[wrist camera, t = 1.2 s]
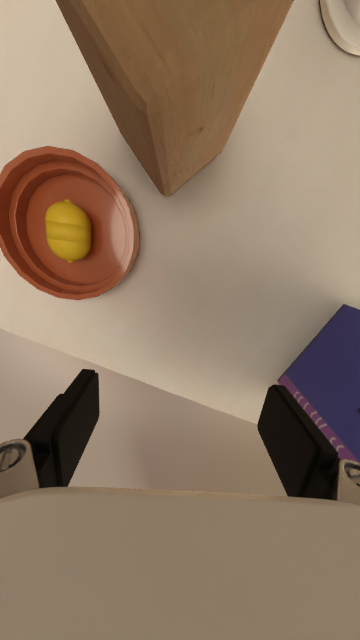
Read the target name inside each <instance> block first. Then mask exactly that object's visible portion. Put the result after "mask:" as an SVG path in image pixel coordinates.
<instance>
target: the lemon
mask: <svg viewBox="0 0 360 640" xmlns="http://www.w3.org/2000/svg"><path fill="white" fill-rule="evenodd" d="M45 225H46V238H47V243H48V245H49V247H50V249H51V250H52V251H53V252H54V254H56V255H57V256H58V257H60V258H62V259H65V260H67V261H68V262H69V263H73V262H74V261H77V260H80V259H82V258H84V257H85V256H86V255H87V254H88V253H89V251H90V248H91V224H90V220H89V218H88V216H87V214H86V213H85V212H84V211H83V210H82V209H81V208H80V207H79V206H77V205H76V204H73V203H72V202H71V200H69V199H65V200H64V201H60V202H56V203H54V204H52V205H51V206H50V207H49V208H48V210H47V212H46V215H45Z"/></svg>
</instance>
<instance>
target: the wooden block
mask: <svg viewBox="0 0 360 640" xmlns="http://www.w3.org/2000/svg"><path fill="white" fill-rule="evenodd" d="M293 1H294V0H56V2H57V4H58V6H59V8H60V10H61V12H62V14H63V16H64V18H65V20H66V22H67V24H68V26H69V28H70V30H71V32H72V35H73V37H74V39H75V41H76V43H77V45H78V47H79V49H80V51H81V53H82V55H83V57H84V59H85V61H86V63H87V65H88V67H89V69H90V71H91V73H92V75H93V77H94V79H95V81H96V83H97V86H98V88H99V90H100V92H101V94H102V96H103V98H104V100H105V102H106V104H107V106H108V108H109V110H110V112H111V114H112V116H113V118H114V120H115V122H116V124H117V126H118V128H119V130H120V132H121V134H122V135H123V137H124V138H125V140H126V141H127V143H128V144H129V146H130V147H131V149H132V151H133V152H134V154H135V155H136V157H137V158H138V160H139V161H140V163H141V164H142V166H143V167H144V169H145V170H146V172H147V173H148V175H149V176H150V178H151V179H152V181H153V182H154V184H155V185H156V187H157V188H158V190H159V191H160V193H162V194H163V195H164V196H168V195H171V194H172V193H173V192H174V191H176V190H177V189H178V188H179V187H180V186H182V185H183V184H184V183H185V182H186V181H188V180H189V179H190V178H191V177H192V176H193V175H195V174H196V173H197V172H198V171H199V170H201V169H202V168H203V167H204V166H205V165H206V164H208V163H209V162H210V161H211V160H212V159H214V158H215V157H216V156H217V155H218V154H219V153H221V151H222V150H223V148H224V146H225V144H226V142H227V140H228V138H229V135H230V133H231V131H232V129H233V127H234V125H235V123H236V121H237V119H238V116H239V114H240V112H241V110H242V108H243V106H244V104H245V102H246V100H247V98H248V95H249V93H250V91H251V89H252V87H253V85H254V83H255V81H256V79H257V76H258V74H259V72H260V70H261V68H262V66H263V64H264V62H265V60H266V58H267V55H268V53H269V51H270V49H271V47H272V45H273V43H274V41H275V39H276V36H277V34H278V32H279V30H280V28H281V26H282V24H283V22H284V20H285V18H286V15H287V13H288V11H289V9H290V7H291V5H292V3H293Z"/></svg>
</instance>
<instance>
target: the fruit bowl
mask: <svg viewBox="0 0 360 640" xmlns="http://www.w3.org/2000/svg"><path fill="white" fill-rule="evenodd" d="M65 199H69V200H71V202H72V203H73V204H76V205H77V206H79V207H80V208H81V209H82V210H83V211H84V212H85V213H86V214H87V216H88V218H89V220H90V224H91V248H90V251H89V253H88V254H87V255H86V256H85V257H84V258H82V259H80V260H77V261H74V262H73V263H69V262H68V261H67V260H65V259H62V258H60V257H58V256H57V255H56V254H54V252H53V251H52V250H51V249H50V247H49V245H48V243H47V238H46V225H45V215H46V212H47V210H48V208H49V207H50V206H51V205H52V204H54V203H56V202H60V201H64V200H65ZM139 235H140V233H139V227H138V223H137V219H136V214H135V211H134V209H133V207H132V205H131V203H130V201H129V200H128V198H127V196H126V194H125V192H124V191H123V190H122V189H121V188H120V187H119V185H118V184H117V183H116V182H115V181H114V180H113V179H112V178H111V177H110V176H109V175H108V174H107V173H106V172H105V171H104V170H103V169H102V168H101V167H100V166H99V165H98V164H97V163H95V162H94V161H92V160H90V159H88V158H86V157H84V156H83V155H81V154H79V153H77V152H75V151H73V150H68V149H62V148H56V147H51V146H46V147H41V148H37V149H32V150H28V151H24V152H22V153H21V154H20V155H18V156H17V157H16V158H14V159H13V160H12V161H10V162H9V163H8V164H6V165H5V167H4V168H3V170H2V172H1V174H0V248H1V250H2V252H3V254H4V256H5V258H6V259H7V260H8V261H9V263H10V264H11V265H12V266H13V268H14V269H15V270H16V271H17V273H18V274H19V275H20V276H21V277H23V278H24V279H25V280H26V281H28V282H29V283H30V284H32V285H33V286H34V287H36V288H37V289H39V290H41V291H44V292H46V293H48V294H51V295H53V296H55V297H58V298H65V299H73V300H81V299H86V298H92V297H97V296H99V295H100V294H102V293H104V292H106V291H108V290H109V289H111V288H113V287H114V286H116V285H118V284H119V283H120V282H121V281H122V280H123V279H124V278H125V277H126V276H127V274H128V273H129V272H130V271H131V269H132V267H133V265H134V262H135V260H136V257H137V255H138V250H139Z"/></svg>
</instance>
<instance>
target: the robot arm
mask: <svg viewBox="0 0 360 640" xmlns="http://www.w3.org/2000/svg"><path fill="white" fill-rule="evenodd" d="M320 5H321V12H322V17H323V20H324V23H325V26H326V29H327V31H328V33H329V34H330V36H331V38H332V39H333V41H334V42H335V43H336V44H337V45H338V46H339V47H340V48H342V49H343V50H345V51H346V52H348V53H351V54H355V55H360V0H320ZM98 418H99V380H98V373H95V371H94V370H89V369H82V370H81V372H80V373H79V374H78V376H77V377H76V378H75V379H74V381H73V382H72V383H71V385H70V386H69V387H68V389H67V390H66V391H65V393H64V394H59V395H58V396H57V397H56V399H55V400H54V401H53V402H52V404H51V405H50V406H49V407H48V409H47V410H46V411H45V412H44V414H43V415H42V416H41V417H40V419H39V420H38V421H37V422H36V423H35V425H34V426H33V427H32V429H31V430H30V431H29V432H28V433H27V435H26V436H25V437H24V438H23V439H13V440H10V441H6V442H4V443H2V444H0V640H360V463H358V462H356V461H353V460H350V459H343V460H341V459H340V458H339V457H338V454H339V453H338V452H337V450H336V449H335V448H334V447H333V445H332V444H331V443H330V442H329V440H328V439H327V438H326V437H325V435H324V434H323V433H322V432H321V430H320V429H319V428H318V427H317V425H316V424H315V423H314V422H313V420H312V419H311V418H310V417H309V415H308V414H307V413H306V412H305V410H304V409H303V408H302V407H301V405H300V404H299V403H298V402H297V400H296V399H295V398H294V397H293V395H292V394H291V393H290V392H289V390H288V389H287V388H286V387H285V386H284V385H272V386H271V387H269V388H268V391H267V395H266V398H265V401H264V405H263V408H262V411H261V415H260V418H259V421H258V431H259V434H260V436H261V438H262V440H263V442H264V445H265V447H266V449H267V451H268V453H269V456H270V457H271V460H272V462H273V464H274V467H275V469H276V471H277V473H278V476H279V478H280V480H281V482H282V484H283V487H284V489H285V491H286V493H287V495H288V496H270V495H251V494H234V493H215V492H196V491H175V490H154V489H130V488H106V487H68V484H69V482H70V480H71V478H72V476H73V474H74V471H75V469H76V467H77V465H78V463H79V460H80V458H81V456H82V454H83V452H84V449H85V447H86V445H87V443H88V441H89V438H90V436H91V434H92V432H93V430H94V427H95V425H96V423H97V421H98Z"/></svg>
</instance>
